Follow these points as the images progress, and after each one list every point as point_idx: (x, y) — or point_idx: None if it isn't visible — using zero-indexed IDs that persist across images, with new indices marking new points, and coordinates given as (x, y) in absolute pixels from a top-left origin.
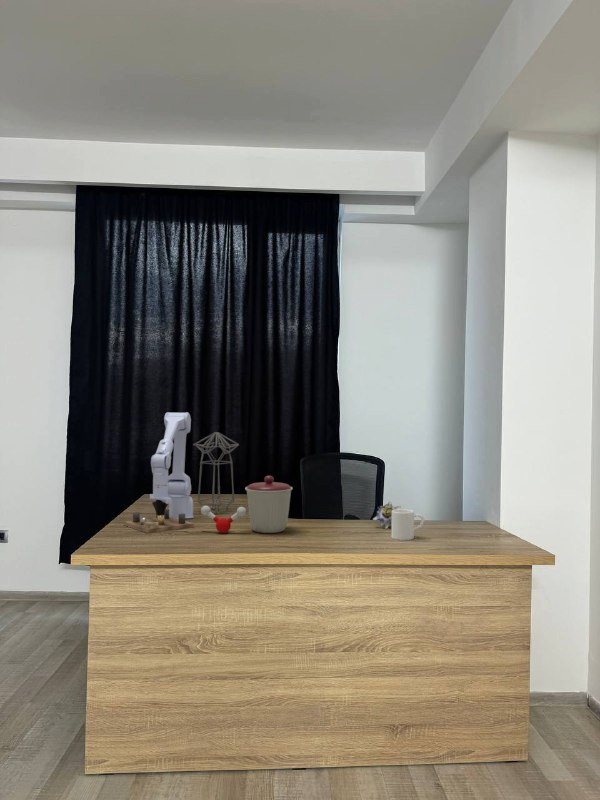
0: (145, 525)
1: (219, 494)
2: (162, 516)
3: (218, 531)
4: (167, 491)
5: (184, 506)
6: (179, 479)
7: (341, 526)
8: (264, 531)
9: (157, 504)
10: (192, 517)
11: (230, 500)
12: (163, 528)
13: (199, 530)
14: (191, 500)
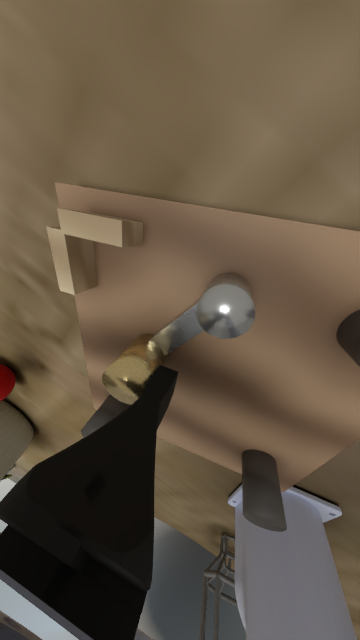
0: (107, 216)
1: (200, 627)
2: (105, 375)
3: (4, 366)
4: None
5: (244, 561)
6: None
7: (21, 456)
8: None
9: (27, 477)
10: (228, 498)
11: (227, 595)
12: (79, 297)
13: (57, 370)
14: (239, 608)
